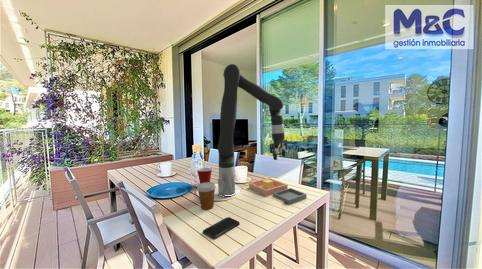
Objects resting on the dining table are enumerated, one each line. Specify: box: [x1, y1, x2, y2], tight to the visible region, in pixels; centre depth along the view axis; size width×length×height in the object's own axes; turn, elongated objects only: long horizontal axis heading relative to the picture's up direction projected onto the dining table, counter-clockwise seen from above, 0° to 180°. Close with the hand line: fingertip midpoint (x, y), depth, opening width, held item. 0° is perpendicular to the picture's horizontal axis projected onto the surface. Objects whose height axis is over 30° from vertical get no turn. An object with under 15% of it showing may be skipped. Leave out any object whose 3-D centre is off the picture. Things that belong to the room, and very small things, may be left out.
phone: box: [202, 216, 240, 240], centre depth 86 cm, size 8×1×15 cm
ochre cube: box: [262, 179, 274, 190], centre depth 128 cm, size 5×5×5 cm
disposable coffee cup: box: [196, 181, 217, 211], centre depth 105 cm, size 10×10×12 cm
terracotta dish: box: [248, 177, 289, 197], centre depth 128 cm, size 17×17×4 cm
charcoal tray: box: [272, 187, 308, 205], centre depth 115 cm, size 14×12×2 cm
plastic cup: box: [196, 167, 213, 184], centre depth 138 cm, size 11×11×12 cm
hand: (279, 158), depth 125 cm, fingers open, 8 cm apart
